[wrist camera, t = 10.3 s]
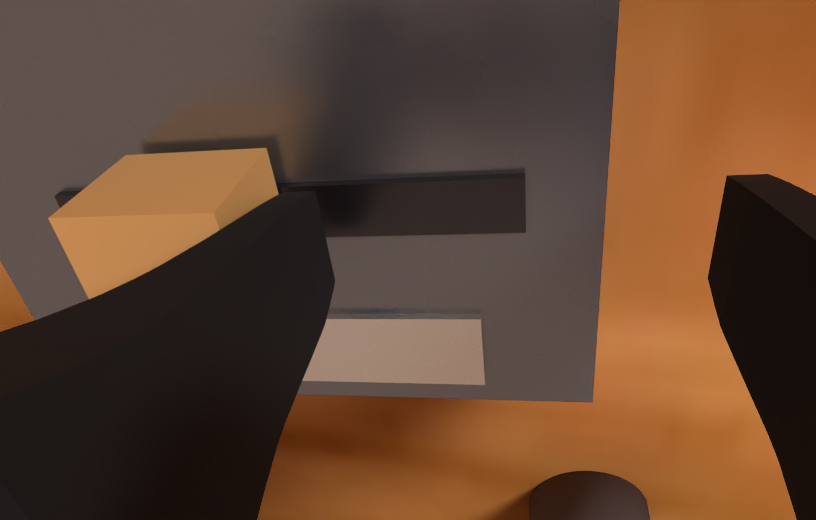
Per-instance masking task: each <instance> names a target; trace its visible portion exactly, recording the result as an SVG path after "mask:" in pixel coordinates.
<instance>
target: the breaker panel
mask: <svg viewBox="0 0 816 520" xmlns="http://www.w3.org/2000/svg"><path fill="white" fill-rule="evenodd" d="M619 2H620V0H0V261H1V262H2V264H3V266H4V268H5V269H6V271H7V273H8V274H9V276H10V278H11V280H12V281H13V283H14V285H15V287H16V288H17V290H18V292H19V293H20V295H21V297H22V299H23V300H24V302H25V304H26V306H27V307H28V309H29V311H30V313H31V314H32V316H33V318H34V319H35V320H37V319H40V318H43V317H45V316H48V315H50V314H53V313H55V312H58V311H60V310H63V309H66V308H68V307H71V306H73V305H76V304H78V303H81V302H83V301H86V300H88V299H89V298H88V296H87V294H86V292H85V290H84V288H83V286H82V284H81V282H80V280H79V278H78V276H77V275H76V273H75V271H74V269H73V267H72V265H71V263H70V261H69V259H68V257H67V255H66V253H65V251H64V249H63V247H62V245H61V243H60V241H59V239H58V237H57V235H56V233H55V231H54V229H53V227H52V225H51V223H50V221H49V219H48V218H49V217H50V216H51V215H52V214H54V213H55V212H56V211H57V210H59V209H60V208H61V207H62V206H64V205H65V204H66V203H67V202H68V201H70V200H71V199H72V198H73V197H75V196H76V195H77V194H78V193H80V192H81V191H82V190H83V189H85V188H86V187H87V186H88V185H89V184H91V183H92V182H93V181H94V180H96V179H97V178H98V177H99V176H101V175H102V174H103V173H104V172H105V171H107V170H108V169H109V168H110V167H112V166H113V165H114V164H115V163H117V162H118V161H119V160H120V159H121V158H123V157H124V156H125V155H137V154H156V153H175V152H195V151H214V150H233V149H252V148H267V152H268V156H269V159H270V163H271V167H272V171H273V175H274V179H275V182H276V186H277V190H278V194H281V193H284V192H302V191H315V192H316V196H317V201H318V205H319V210H320V214H321V219H322V223H323V228H324V232H325V237H326V241H327V246H328V250H329V254H330V259H331V263H332V268H333V272H334V277H335V285H334V290H333V294H332V299H331V303H330V307H329V311H328V315H327V319H326V323H325V326H324V328H323V331H322V334H321V336H320V339H319V341H318V344H317V346H316V349H315V351H314V354H313V356H312V359H311V361H310V363H309V366H308V368H307V371H306V373H305V375H304V378H303V380H302V383H301V385H300V387H299V390H298V392H297V394H304V395H340V396H377V397H414V398H451V399H487V400H524V401H561V402H593V387H594V372H595V357H596V343H597V328H598V313H599V298H600V283H601V269H602V254H603V239H604V224H605V209H606V194H607V180H608V165H609V150H610V135H611V120H612V106H613V91H614V76H615V61H616V46H617V32H618V17H619Z"/></svg>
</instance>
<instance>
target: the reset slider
mask: <svg viewBox="0 0 816 520" xmlns="http://www.w3.org/2000/svg"><path fill="white" fill-rule="evenodd" d="M277 195H279V194H278V190H277V186H276V182H275V179H274V175H273V171H272V167H271V163H270V159H269V156H268V152H267V148H252V149H233V150H214V151H195V152H175V153H156V154H137V155H125V156H124V157H123V158H121V159H120V160H119V161H118V162H117V163H115V164H114V165H113V166H112V167H110V168H109V169H108V170H107V171H105V172H104V173H103V174H102V175H101V176H99V177H98V178H97V179H96V180H94V181H93V182H92V183H91V184H89V185H88V186H87V187H86V188H85V189H83V190H82V191H81V192H80V193H78V194H77V195H76V196H75V197H73V198H72V199H71V200H70V201H68V202H67V203H66V204H65V205H64V206H62V207H61V208H60V209H59V210H57V211H56V212H55V213H54V214H52V215H51V216H50V217H49V218H48V219H49V221H50V223H51V225H52V227H53V229H54V231H55V233H56V235H57V237H58V239H59V241H60V243H61V245H62V247H63V249H64V251H65V253H66V255H67V257H68V259H69V261H70V263H71V265H72V267H73V269H74V271H75V273H76V275H77V276H78V278H79V280H80V282H81V284H82V286H83V288H84V290H85V292H86V294H87V296H88V298H89V299H91V298H94V297H96V296H98V295H100V294H103V293H105V292H107V291H109V290H111V289H114V288H116V287H118V286H120V285H122V284H124V283H126V282H128V281H131V280H133V279H135V278H137V277H139V276H141V275H143V274H145V273H147V272H149V271H150V270H152V269H154V268H156V267H158V266H160V265H162V264H163V263H165V262H167V261H169V260H170V259H172V258H174V257H175V256H177V255H179V254H181V253H182V252H184V251H186V250H188V249H189V248H191V247H193V246H194V245H196V244H198V243H200V242H201V241H203V240H205V239H206V238H208V237H210V236H211V235H213V234H214V233H216V232H217V231H219V230H221V229H222V228H224V227H225V226H227V225H229V224H230V223H232V222H233V221H235V220H236V219H238V218H240V217H241V216H243V215H244V214H246V213H248V212H249V211H251V210H252V209H254V208H256V207H257V206H259V205H261V204H262V203H264V202H266V201H267V200H269V199H271V198H273V197H275V196H277Z"/></svg>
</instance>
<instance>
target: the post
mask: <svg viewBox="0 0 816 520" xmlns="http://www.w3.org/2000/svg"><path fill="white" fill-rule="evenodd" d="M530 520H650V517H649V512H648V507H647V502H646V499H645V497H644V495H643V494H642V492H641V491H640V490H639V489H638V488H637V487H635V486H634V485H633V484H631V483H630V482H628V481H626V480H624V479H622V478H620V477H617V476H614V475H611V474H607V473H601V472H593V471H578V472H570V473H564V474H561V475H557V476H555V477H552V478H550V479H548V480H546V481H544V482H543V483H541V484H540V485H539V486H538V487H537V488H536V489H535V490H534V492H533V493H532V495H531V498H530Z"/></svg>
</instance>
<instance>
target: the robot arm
mask: <svg viewBox="0 0 816 520" xmlns="http://www.w3.org/2000/svg"><path fill="white" fill-rule="evenodd" d="M708 280H709V284H710V288H711V292H712V297H713V301H714V305H715V308H716V312H717V315H718V319H719V323H720V326H721V329H722V331H723V333H724V336H725V338H726V340H727V343H728V345H729V347H730V350H731V352H732V354H733V357H734V359H735V361H736V363H737V366H738V368H739V370H740V372H741V375H742V377H743V379H744V381H745V384H746V386H747V388H748V390H749V393H750V395H751V397H752V399H753V402H754V404H755V406H756V408H757V410H758V413H759V415H760V417H761V419H762V422H763V424H764V426H765V428H766V431H767V433H768V435H769V438H770V440H771V443H772V445H773V448H774V450H775V453H776V456H777V458H778V461H779V463H780V467H781V470H782V473H783V476H784V479H785V483H786V486H787V489H788V492H789V496H790V499H791V502H792V505H793V509H794V512H795V515H796V518H797V520H816V196H815V195H813V194H811V193H809V192H807V191H805V190H803V189H801V188H799V187H797V186H795V185H793V184H791V183H789V182H786V181H784V180H782V179H779V178H777V177H774V176H772V175H769V174H759V175H732V176H727V177H726V183H725V188H724V194H723V199H722V204H721V210H720V215H719V221H718V226H717V231H716V237H715V242H714V248H713V253H712V258H711V264H710V269H709V275H708ZM334 285H335V277H334V272H333V268H332V263H331V259H330V254H329V250H328V246H327V241H326V237H325V232H324V228H323V223H322V219H321V214H320V210H319V205H318V201H317V196H316V192H315V191H302V192H284V193H281V194H279V195H277V196H275V197H273V198H271V199H269V200H267V201H266V202H264V203H262V204H261V205H259V206H257V207H256V208H254V209H252V210H251V211H249V212H248V213H246V214H244V215H243V216H241V217H240V218H238V219H236V220H235V221H233V222H232V223H230V224H229V225H227V226H225V227H224V228H222V229H221V230H219V231H217V232H216V233H214V234H213V235H211V236H210V237H208V238H206V239H205V240H203V241H201V242H200V243H198V244H196V245H194V246H193V247H191V248H189V249H188V250H186V251H184V252H182V253H181V254H179V255H177V256H175V257H174V258H172V259H170V260H169V261H167V262H165V263H163V264H162V265H160V266H158V267H156V268H154V269H152V270H150V271H149V272H147V273H145V274H143V275H141V276H139V277H137V278H135V279H133V280H131V281H128V282H126V283H124V284H122V285H120V286H118V287H116V288H114V289H111V290H109V291H107V292H105V293H103V294H100V295H98V296H96V297H94V298H91V299H88V300H86V301H83V302H81V303H78V304H76V305H73V306H71V307H68V308H66V309H63V310H60V311H58V312H55V313H53V314H50V315H48V316H45V317H43V318H40V319H37V320H34V321H32V322H29V323H26V324H23V325H20V326H17V327H14V328H11V329H8V330H5V331H2V332H0V520H257V517H258V513H259V510H260V506H261V502H262V498H263V494H264V490H265V486H266V483H267V479H268V476H269V472H270V469H271V465H272V462H273V458H274V455H275V451H276V448H277V444H278V441H279V438H280V435H281V433H282V430H283V427H284V424H285V422H286V419H287V416H288V414H289V412H290V409H291V407H292V404H293V402H294V400H295V397H296V395H297V392H298V390H299V387H300V385H301V383H302V380H303V378H304V375H305V373H306V371H307V368H308V366H309V363H310V361H311V359H312V356H313V354H314V351H315V349H316V346H317V344H318V341H319V339H320V336H321V334H322V331H323V328H324V326H325V323H326V319H327V315H328V311H329V307H330V303H331V299H332V294H333V290H334Z"/></svg>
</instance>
